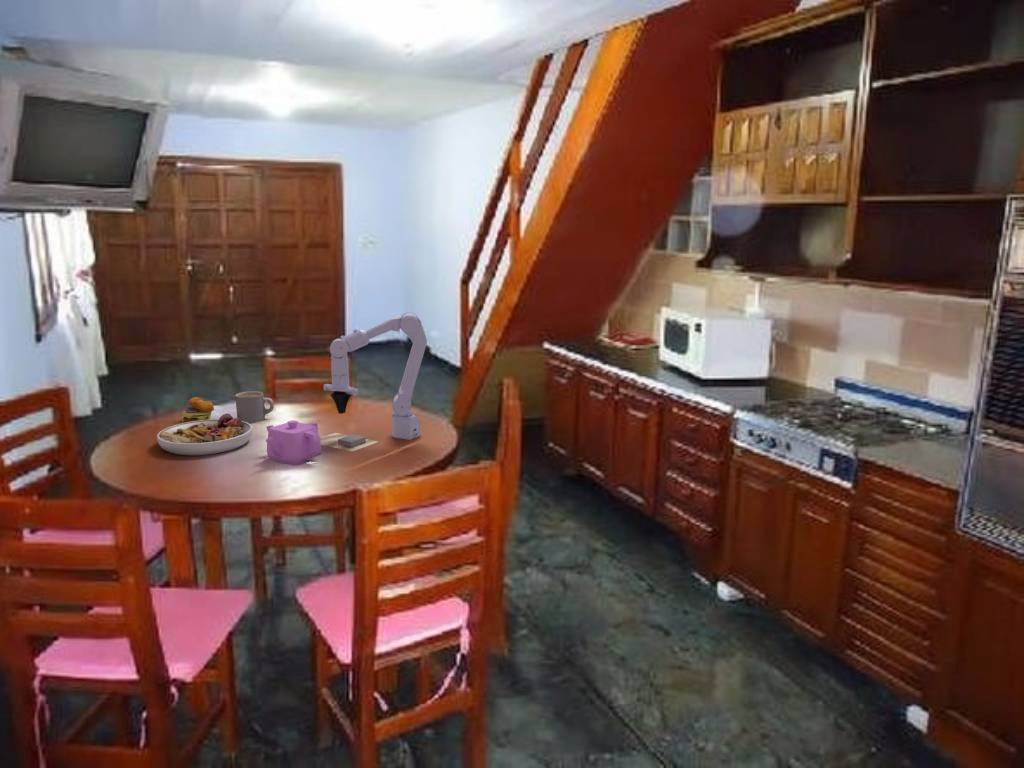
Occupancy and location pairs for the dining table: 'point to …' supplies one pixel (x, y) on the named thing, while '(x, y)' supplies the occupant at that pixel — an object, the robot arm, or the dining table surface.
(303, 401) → the dining table surface
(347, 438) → the tile
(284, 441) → the teakettle
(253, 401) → the coffee mug
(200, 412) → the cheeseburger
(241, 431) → the bowl
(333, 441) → the board
